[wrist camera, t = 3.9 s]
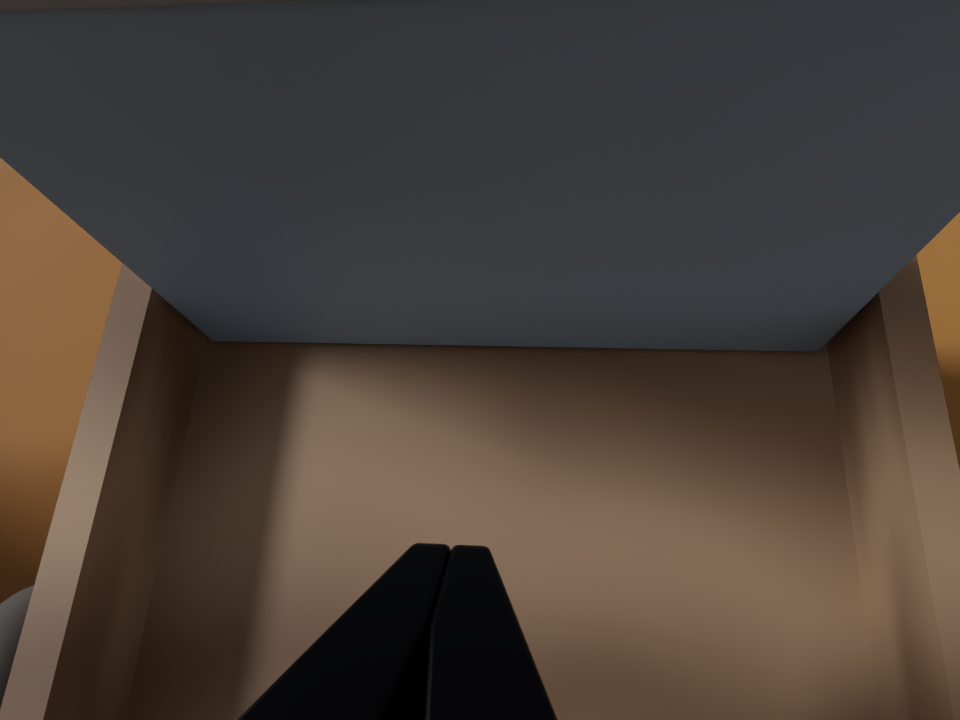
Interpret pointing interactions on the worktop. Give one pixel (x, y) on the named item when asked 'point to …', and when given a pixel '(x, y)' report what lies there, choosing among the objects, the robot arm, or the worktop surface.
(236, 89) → the tailgate
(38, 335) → the worktop surface
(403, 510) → the tray
